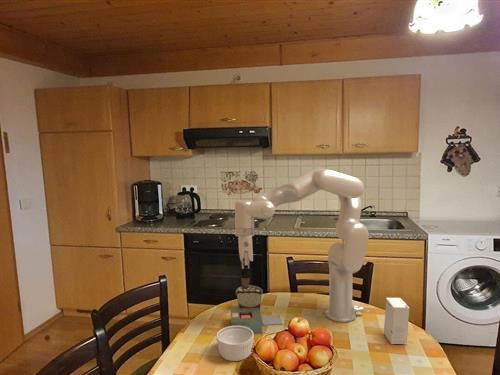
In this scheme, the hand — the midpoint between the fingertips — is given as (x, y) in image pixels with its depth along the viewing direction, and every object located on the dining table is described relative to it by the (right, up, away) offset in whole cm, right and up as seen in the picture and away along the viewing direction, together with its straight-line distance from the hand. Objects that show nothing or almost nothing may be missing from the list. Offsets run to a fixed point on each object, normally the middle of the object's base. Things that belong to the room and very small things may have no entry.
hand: (245, 275), depth 143 cm
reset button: (0, -19, +2) cm, 19 cm away
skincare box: (+56, -22, -9) cm, 61 cm away
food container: (+2, -20, +19) cm, 27 cm away
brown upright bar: (0, -5, +1) cm, 5 cm away
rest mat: (+11, -21, +7) cm, 24 cm away
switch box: (0, -21, +2) cm, 21 cm away
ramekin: (-3, -24, -16) cm, 29 cm away
